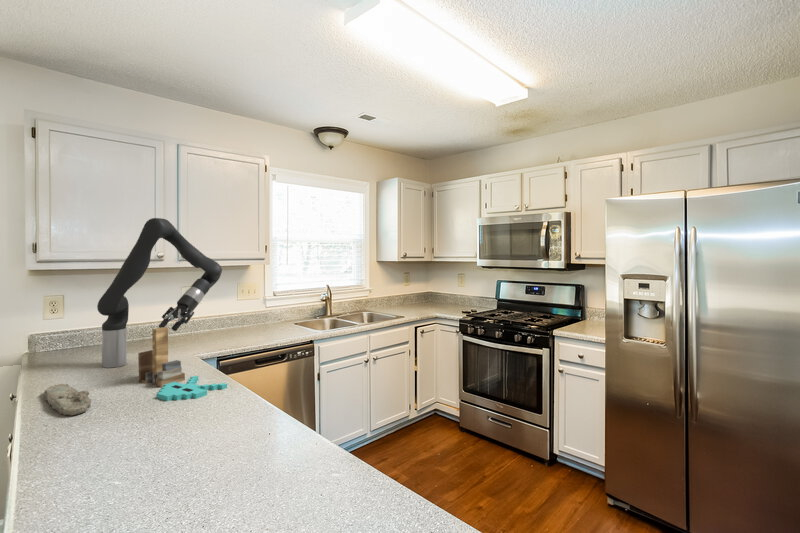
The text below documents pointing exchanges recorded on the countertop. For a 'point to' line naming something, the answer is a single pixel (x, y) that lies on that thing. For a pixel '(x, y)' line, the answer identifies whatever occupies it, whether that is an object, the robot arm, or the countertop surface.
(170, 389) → the alien figure
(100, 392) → the countertop surface
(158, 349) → the tall panel
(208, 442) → the countertop surface
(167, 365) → the offcut stack
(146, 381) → the rack
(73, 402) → the elongated rock
